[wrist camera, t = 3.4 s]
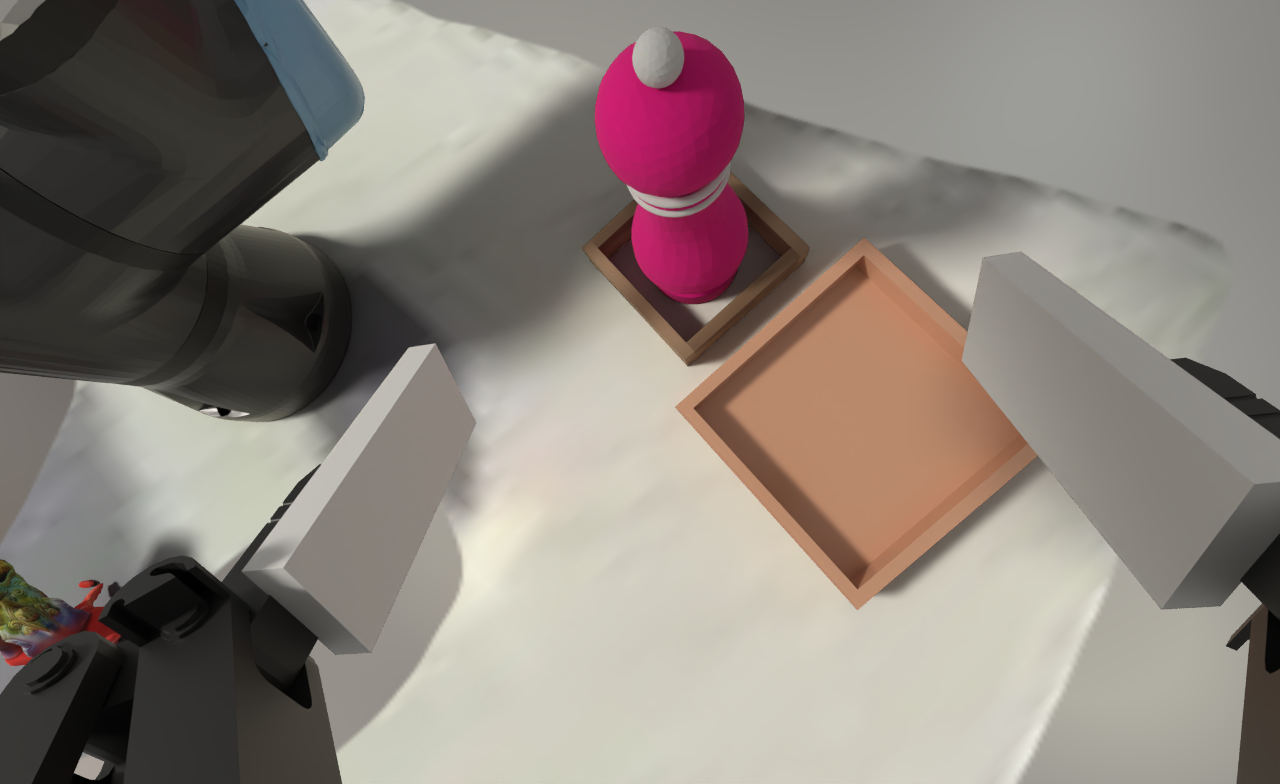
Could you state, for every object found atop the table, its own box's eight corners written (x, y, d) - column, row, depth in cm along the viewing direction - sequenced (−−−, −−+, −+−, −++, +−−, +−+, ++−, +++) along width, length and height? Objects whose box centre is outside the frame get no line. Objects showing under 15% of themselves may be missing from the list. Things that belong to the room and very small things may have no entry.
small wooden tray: (591, 261, 38) (581, 248, 35) (699, 161, 37) (697, 140, 35) (688, 366, 36) (685, 360, 33) (804, 261, 35) (810, 247, 33)
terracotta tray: (679, 410, 35) (675, 407, 32) (852, 255, 35) (864, 237, 32) (845, 595, 32) (857, 610, 29) (1039, 429, 31) (1071, 427, 29)
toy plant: (171, 571, 46) (54, 489, 38) (190, 654, 40) (56, 577, 32) (59, 638, 42) (-96, 562, 34) (62, 740, 36) (-126, 677, 28)
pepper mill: (649, 318, 36) (557, 162, 17) (638, 222, 37) (540, -32, 18) (752, 303, 35) (783, 117, 16) (738, 204, 36) (752, -87, 17)
